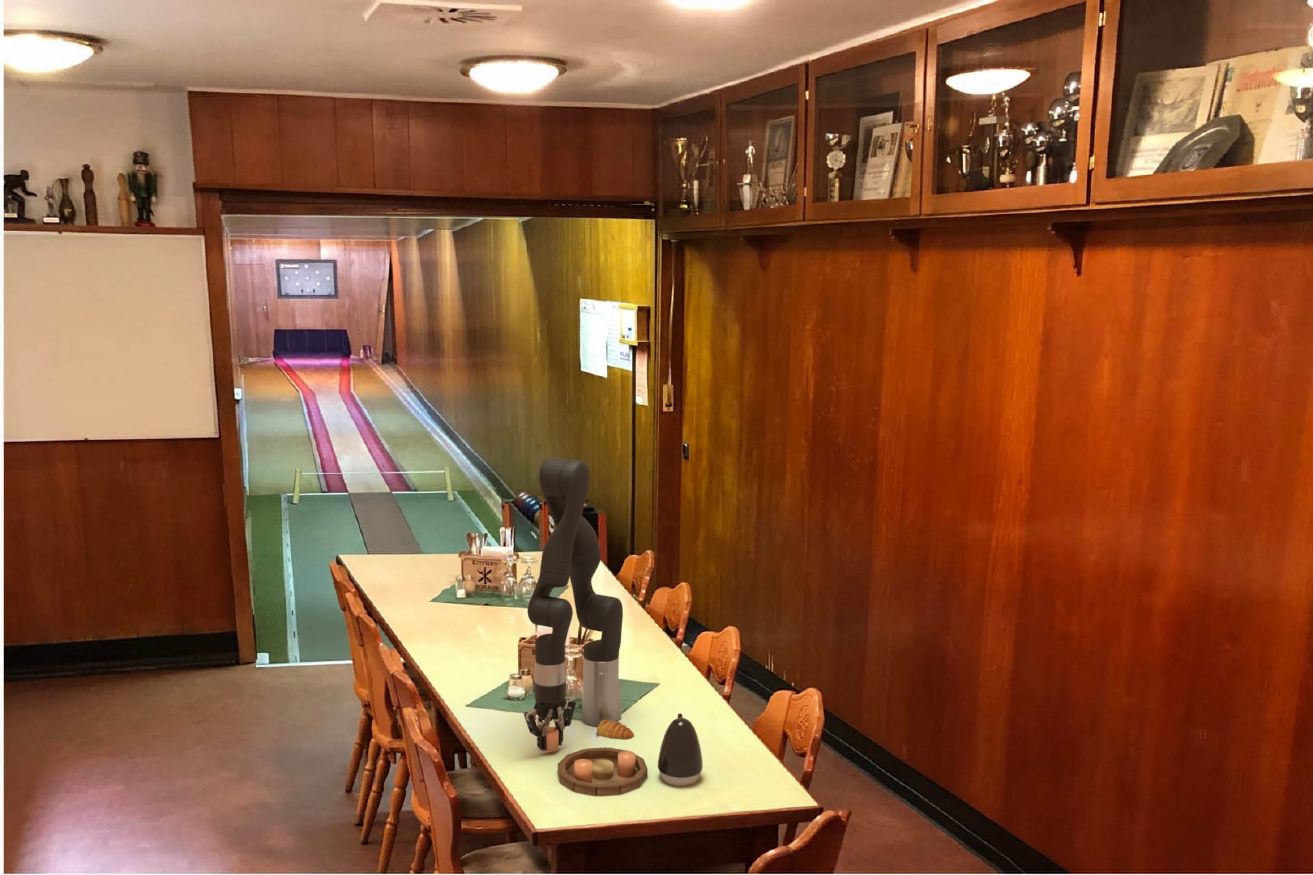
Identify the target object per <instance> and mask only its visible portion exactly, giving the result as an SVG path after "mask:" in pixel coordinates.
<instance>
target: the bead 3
mask: <svg viewBox="0 0 1313 875" xmlns="http://www.w3.org/2000/svg"><path fill="white" fill-rule="evenodd" d="M635 754H636V753H635V752H633V751H631V750H626V751H622V752H620V753H618V775H619V776H621V777H632V776H634V775H635Z"/></svg>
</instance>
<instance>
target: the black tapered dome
mask: <svg viewBox="0 0 1313 875" xmlns="http://www.w3.org/2000/svg"><path fill="white" fill-rule="evenodd" d="M683 716H684V715H683V714H682V713H678V714H677V718H674V719H673V720H672V721H671V722H670V724H669V725H668V727H667V728H666V730H665V732H664V736H663V737H662V738H663V739H662V742H661V745H660V750H659V754H658V759H657V768H658V771H659V775H660V777H661V778H662V781H664V782H665V783H666V784H668V785H671V786H676V787H688V786H691V785H693V784H695V783H696V782H697V781H698V779H699V777H700V775H701V773H702V771H703V765H704V764H703V762H704V761H703V756H702V750H701V744H700V741H699V737H698V733H697V731H696V728H695V726H694V725H693V723H692V722H691V721H690V720H689V719H687V718H685V717H683Z"/></svg>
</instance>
